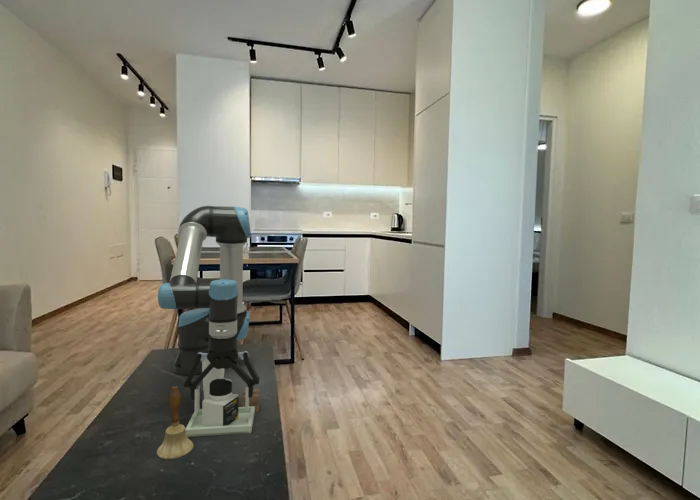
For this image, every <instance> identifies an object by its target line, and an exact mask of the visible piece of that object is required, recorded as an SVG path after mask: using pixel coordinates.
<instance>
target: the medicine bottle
mask: <svg viewBox="0 0 700 500" xmlns="http://www.w3.org/2000/svg"><path fill="white" fill-rule="evenodd" d="M239 397H240V396H239V394H237V393H233V381H232V379H229V378H227V377H224V378H218V379H215V380H213V381H211V383H210V397H208V398H206V399H205V400H204V399H203V400H202V403H201V406H202V407H201V409H202V425H203V426H207V427H212V426H229V425H230V424H232V423H233V422H234V421H236V420H237V419H238V407H239V404H240V403H239Z"/></svg>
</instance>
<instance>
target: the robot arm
mask: <svg viewBox="0 0 700 500" xmlns="http://www.w3.org/2000/svg"><path fill="white" fill-rule="evenodd" d="M177 234H178V237H179V240H178V244H177V249H176V253H175V257H174V261H173V266H172V270H171V274H170V275H171V276H170V277H169V278H170V279H169V282H166V283H161V284H160V286H159V287H158V292H157V302H158V306H159V307H160V309H164V310H185V309H190V310H187V311H184V312H182V313H181V314H180V315H179V317H178V326H177V327H178V351H177V354H176V358H175V360H174V363H173V372H174V373H175V374H177V375H181V376H187V378H186V379H185V381H184V383H183V387H184V388H189V389H190V401H194V411H195V413H198V411H199V409H201V407H200V401H201V400H200V398H201V397H200V394H201V392H200V391H201V390H200V387H201V386H200V385H199V384H200V383H201V382H203V378H204V377H205V376H206V375H207V374H208V373H209V372H210V371H211V370H212V368H213V367H214V368H216V369H221V368H223V369H224V370H228V369H231V370H233V371H234V372H235V373H236V374H237V375H238V377H240V378H241V380H242V381H243V382H244V383H245V384H246V385H245V390H246V395H245V410H248V408H249V397H252V396H253V390H254V386H255V385H259V384H260V376H259V374H258V372H257V370H256V369H255V366H254V365H253V363H252V361H251V359H250V356H249V354H250V353H249V350H247V349H245V350H244V351H238V341H243V340H245V339H246V338H247V336H248V331H249V324H250V316H251V315H250V314H251V313H250V311H248V310H247V306H245V305H244V303H243V293H244V292H243V289H244V288H243V285H244V284H243V282H244V281H243V280H244V278H243V277H244V273H243V272H244V270H243V268H244V246H245V245H246V244H247V243H248V239H249V238H251V237H252V233H251V225H250V217H249V211H248V209H247V208H245V207H240V206H239V207H238V206H220V205H219V206H217V205H216V206H215V205H214V206H213V205H203V206H199V207H197V208H195V209H193V210H192V211H190V212H189V213H188V214H186V215H185V216H184V217H183V219H182V221H181V222H180V224H179V226H178V231H177ZM207 237H209V238H210V237H211V238H215V243H216V244H217V245H218V246H219V279H216V280H215V279H214V280H212V281H210V282H205V283H201V282H200V283H199V282H197V280H198V274H199V268H200V263H201V261H200V260H201V256H202V250H203V249H202V248H203V242H204V241H206V239H207ZM205 358H207V359H208V360H209V362H210V364H209V365H208V366H207V367H206V369H205V370H204V371H203V372H202V361H204V359H205ZM239 358H240V360H242V361H243V362H244V365H245V366H246V368H247V370H248V373H249V374H250V375H248V373H247V371H245V370H244V369H243V368H242V367H241V365H240V364H239V362H238V361H237V359H239ZM195 375H198V376H197V378H196V379H195V380H194V381H192V380H193V378H194V376H195Z"/></svg>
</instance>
